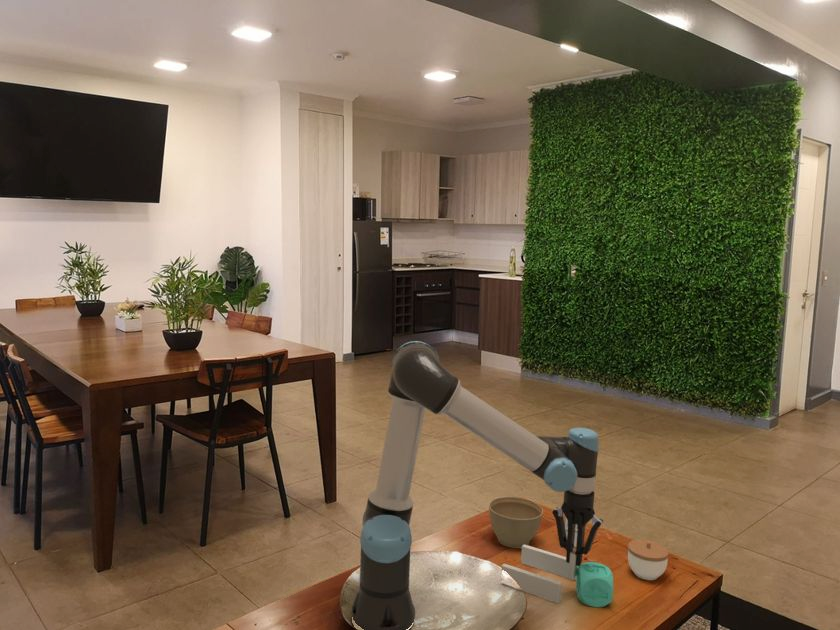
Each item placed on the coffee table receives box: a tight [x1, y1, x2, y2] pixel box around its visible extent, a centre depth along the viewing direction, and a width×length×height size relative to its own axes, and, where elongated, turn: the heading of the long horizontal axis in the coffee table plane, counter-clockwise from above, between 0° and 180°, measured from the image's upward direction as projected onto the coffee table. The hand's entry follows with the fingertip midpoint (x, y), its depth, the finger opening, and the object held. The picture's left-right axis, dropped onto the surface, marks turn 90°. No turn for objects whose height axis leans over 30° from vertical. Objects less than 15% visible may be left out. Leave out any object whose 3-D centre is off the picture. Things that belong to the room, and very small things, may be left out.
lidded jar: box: [627, 539, 670, 581], centre depth 180 cm, size 11×11×9 cm
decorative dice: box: [575, 561, 614, 608], centre depth 167 cm, size 8×8×8 cm
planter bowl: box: [488, 496, 544, 549], centre depth 196 cm, size 16×16×11 cm
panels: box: [501, 544, 579, 604], centre depth 174 cm, size 16×15×5 cm
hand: (572, 575), depth 170 cm, fingers closed
